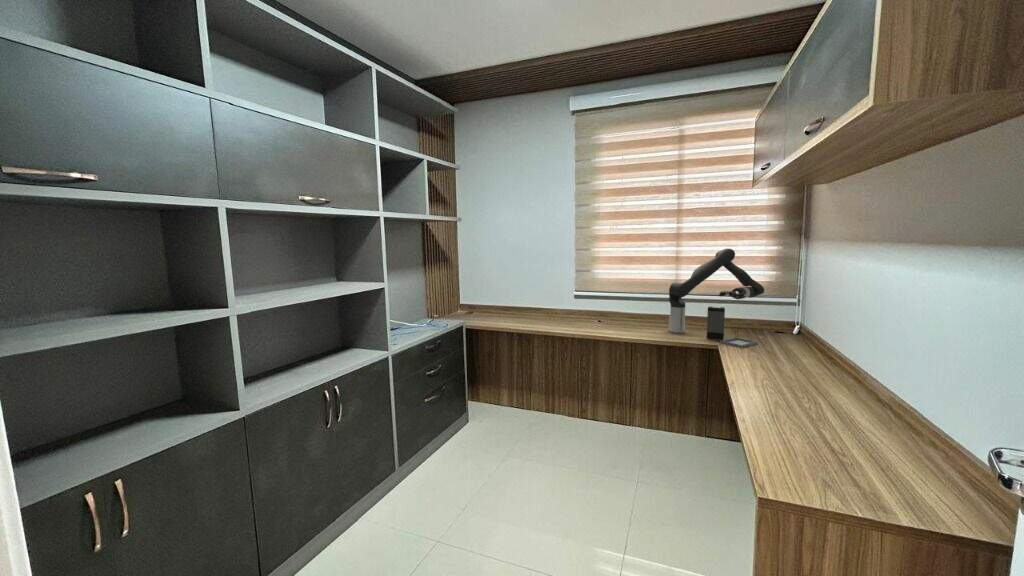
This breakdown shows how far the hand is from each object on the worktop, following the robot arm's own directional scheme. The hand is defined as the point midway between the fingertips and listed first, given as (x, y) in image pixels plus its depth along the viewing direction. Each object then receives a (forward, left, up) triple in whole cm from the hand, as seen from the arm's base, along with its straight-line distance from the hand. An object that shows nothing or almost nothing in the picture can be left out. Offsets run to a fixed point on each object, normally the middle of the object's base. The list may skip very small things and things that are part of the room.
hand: (726, 295), depth 253 cm
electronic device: (+4, -16, -26) cm, 31 cm away
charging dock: (+18, -14, -26) cm, 34 cm away
